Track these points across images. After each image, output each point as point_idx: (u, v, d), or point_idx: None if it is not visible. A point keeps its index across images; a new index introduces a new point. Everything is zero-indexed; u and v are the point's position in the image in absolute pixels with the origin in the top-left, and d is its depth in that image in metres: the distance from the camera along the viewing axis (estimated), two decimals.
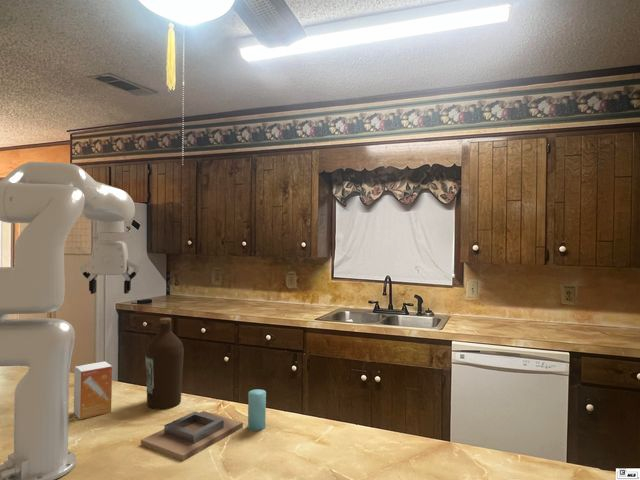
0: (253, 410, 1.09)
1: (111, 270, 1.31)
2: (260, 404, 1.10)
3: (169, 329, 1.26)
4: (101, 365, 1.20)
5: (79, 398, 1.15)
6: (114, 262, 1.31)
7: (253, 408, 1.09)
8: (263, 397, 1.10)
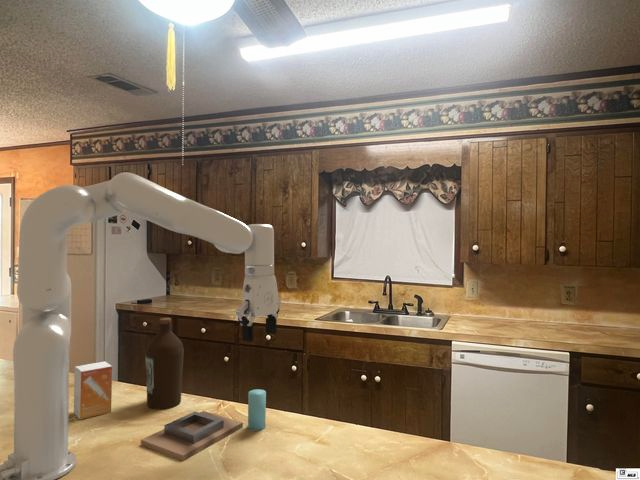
0: (253, 410, 1.09)
1: (271, 309, 1.11)
2: (260, 404, 1.10)
3: (169, 329, 1.26)
4: (101, 365, 1.20)
5: (79, 398, 1.15)
6: (272, 299, 1.12)
7: (253, 408, 1.09)
8: (263, 397, 1.10)
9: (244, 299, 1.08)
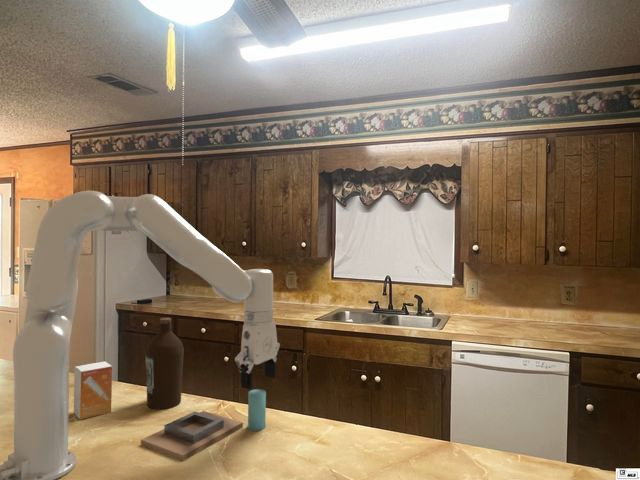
0: (253, 410, 1.09)
1: (270, 354, 1.11)
2: (260, 404, 1.10)
3: (169, 329, 1.26)
4: (101, 365, 1.20)
5: (79, 398, 1.15)
6: (271, 344, 1.12)
7: (253, 408, 1.09)
8: (263, 397, 1.10)
9: (243, 346, 1.08)
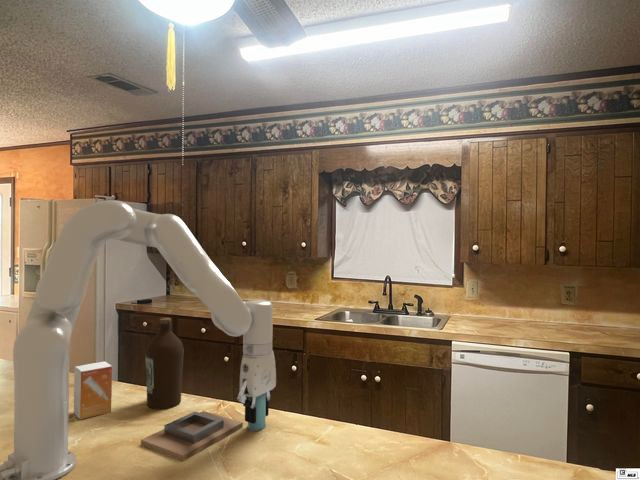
0: None
1: (268, 386, 1.11)
2: (260, 404, 1.10)
3: (169, 329, 1.26)
4: (101, 365, 1.20)
5: (79, 398, 1.15)
6: (270, 376, 1.12)
7: None
8: (263, 397, 1.10)
9: (242, 378, 1.08)
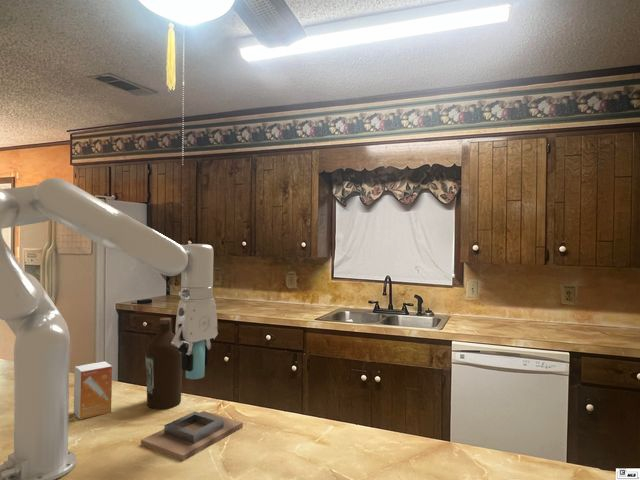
0: None
1: (207, 334, 1.06)
2: (198, 352, 1.04)
3: (169, 329, 1.26)
4: (101, 365, 1.20)
5: (79, 398, 1.15)
6: (210, 323, 1.06)
7: None
8: (201, 344, 1.05)
9: (177, 323, 1.02)
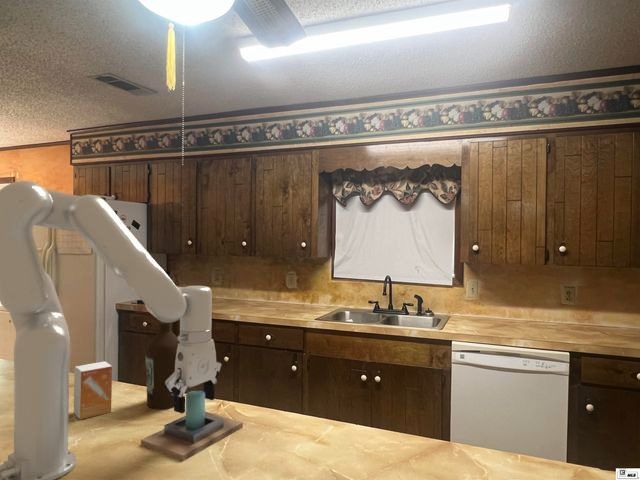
0: (190, 413, 1.04)
1: (206, 376, 1.06)
2: (197, 407, 1.04)
3: (169, 329, 1.26)
4: (101, 365, 1.20)
5: (79, 398, 1.15)
6: (209, 365, 1.06)
7: (190, 410, 1.04)
8: (201, 399, 1.05)
9: (176, 367, 1.02)
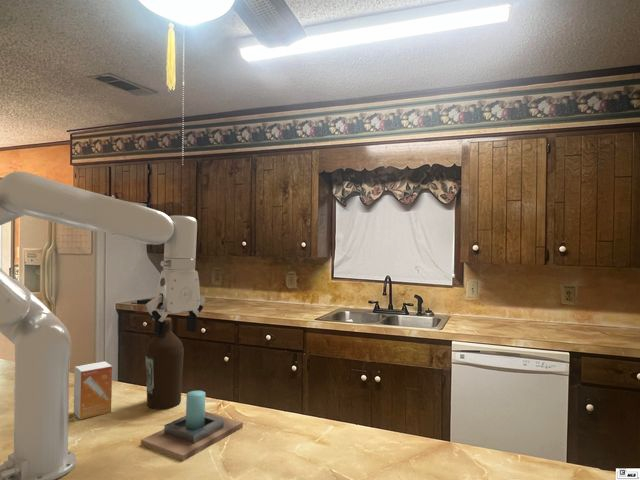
0: (190, 412, 1.04)
1: (188, 305, 1.06)
2: (197, 406, 1.05)
3: (169, 329, 1.26)
4: (101, 365, 1.20)
5: (79, 398, 1.15)
6: (191, 295, 1.07)
7: (190, 410, 1.04)
8: (201, 399, 1.05)
9: (158, 293, 1.03)
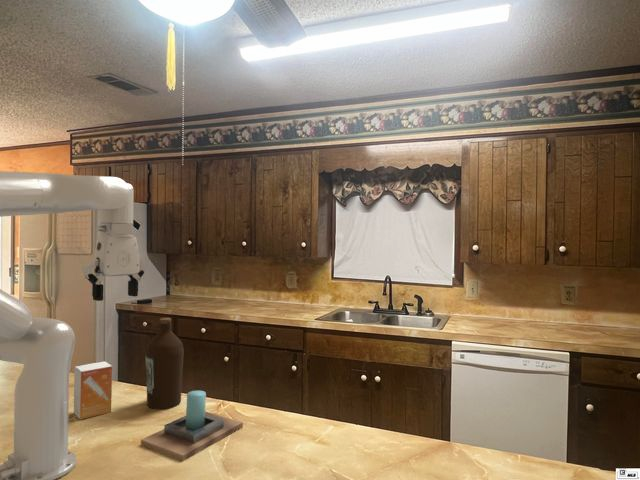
0: (190, 412, 1.04)
1: (127, 269, 1.09)
2: (197, 406, 1.04)
3: (169, 329, 1.26)
4: (101, 365, 1.20)
5: (79, 398, 1.15)
6: (130, 259, 1.09)
7: (190, 410, 1.04)
8: (201, 399, 1.05)
9: (95, 257, 1.05)
